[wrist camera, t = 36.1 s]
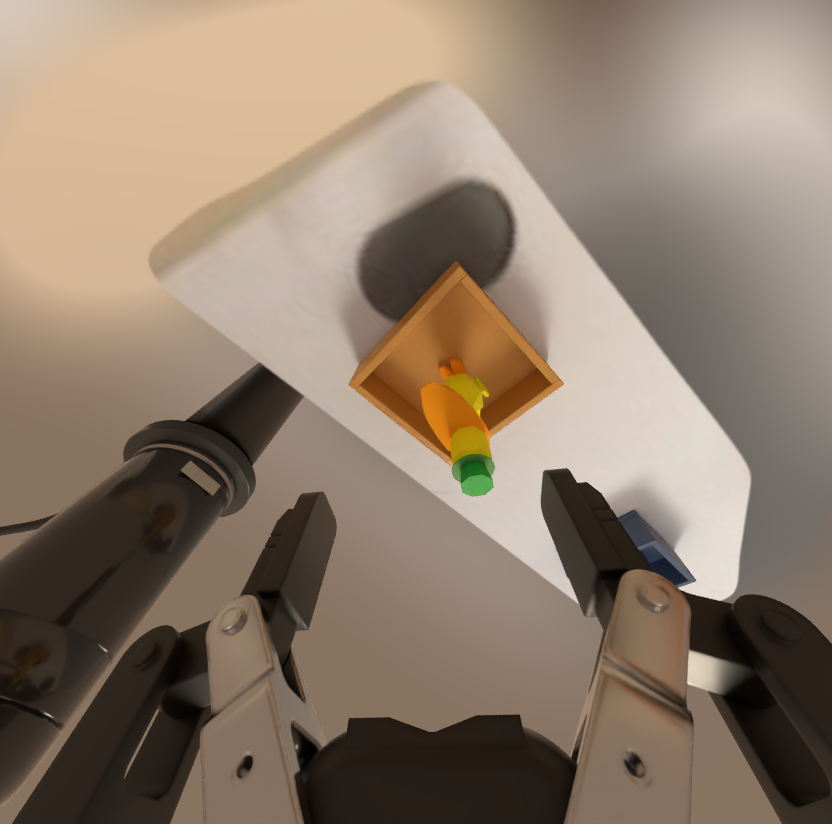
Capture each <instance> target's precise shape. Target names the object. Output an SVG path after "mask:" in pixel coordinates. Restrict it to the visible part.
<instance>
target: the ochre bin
mask: <svg viewBox="0 0 832 824" xmlns="http://www.w3.org/2000/svg"><path fill="white" fill-rule="evenodd" d="M454 357H456V358H458V359H459V360H460V361H461V362H462V363H463V365H464V368H465V370H466V373H467V375H469V376H471V377H472V378H474V379H476V378H475V375H477V376H478V378H479V379H480V380H481V381H482V382H483V384H484V385H485V387H486V388H487V390H488V393H489V396H488V397H485V396H484V395H483V394H482V400H483V407H482V408H481V409H480V418H481V419H482V421H483V422H484V423H485V425H486V426H487V428H488V430H489V438H490V437H491V436H493V435H494V434H495V433H497V432H498V431H500V430H501V429H502V428H504V427H505V426H507V425H508V424H509V423H511V422H512V421H514V420H515V419H516V418H518V417H519V416H520V415H522V414H523V413H525V412H526V411H527V410H529V409H530V408H532V407H533V406H534V405H536V404H537V403H539V402H540V401H541V400H543V399H544V398H545V397H547V396H548V395H550V394H551V393H552V392H554V391H555V390H557V389H558V388H559V387H561V386H562V385H563V384H564V383H563V382H562V381H561V380H560V379H559V377H558V376H557V375H556V374H555V373H554V371H553V370H552V369H551V368H550V367H549V365H548V364H547V363H546V362H545V361H544V360H543V359H542V357H541V356H540V355H539V354H538V353H537V352H536V351H535V349H534V348H533V347H532V346H531V345H530V344H529V343H528V341H527V340H526V339H525V338H524V337H523V336H522V335H521V334H520V332H519V331H518V330H517V329H516V328H515V327H514V326H513V324H512V323H511V322H510V321H509V320H508V319H507V318H506V316H505V315H504V314H503V313H502V312H501V311H500V310H499V309H498V307H497V306H496V305H495V304H494V303H493V302H492V301H491V299H490V298H489V297H488V296H487V295H486V294H485V293H484V291H483V290H482V289H481V288H480V287H479V286H478V285H477V284H476V282H475V281H474V280H473V279H472V278H471V277H470V276H469V274H468V273H467V272H466V271H465V270H464V269H463V268H462V266H461V265H460V264H459V263H458V262H457V261H454V262H453V263H452V265H451V266H450V267H449V268H448V269H447V270H446V271H445V272H444V273H443V274H442V275H441V276H440V278H439V279H438V280H437V281H436V282H435V283H434V284H433V285H432V286H431V287H430V288H429V289H428V291H427V292H426V293H425V294H424V295H423V296H422V297H421V298H420V299H419V300H418V301H417V302H416V304H415V305H414V306H413V307H412V308H411V309H410V310H409V311H408V312H407V313H406V314H405V315H404V317H403V318H402V319H401V320H400V321H399V322H398V323H397V324H396V325H395V326H394V327H393V328H392V330H391V331H390V332H389V333H388V334H387V335H386V336H385V337H384V338H383V339H382V340H381V341H380V343H379V344H378V345H377V346H376V347H375V348H374V349H373V350H372V351H371V352H370V353H369V354H368V356H367V357H366V358H365V359H364V360H363V361H362V362H361V363H360V364H359V365H358V367H357V369H356V371H355V373H354V375H353V377H352V379H351V381H350V383H349V386H351V387H352V388H353V389H355V390H356V391H357V392H358V393H360V394H361V395H362V396H363V397H365V398H366V399H367V400H368V401H370V402H371V403H372V404H373V405H375V406H376V407H377V408H378V409H380V410H381V411H382V412H383V413H385V414H386V415H387V416H388V417H390V418H391V419H392V420H393V421H395V422H396V423H397V424H399V425H400V426H401V427H402V428H404V429H405V430H406V431H407V432H409V433H410V434H411V435H412V436H414V437H415V438H416V439H417V440H419V441H420V442H421V443H422V444H424V445H425V446H426V447H427V448H429V449H430V450H431V451H432V452H434V453H435V454H436V455H438V456H439V457H440V458H441V459H443V460H444V461H445V462H446V463H448V464H449V465H450V466H451V465H452V459H451V452H450V451H448V450H447V449H446V448H445V446H444V445H443V444H442V443H441V441H440V440H439V439H438V437H437V436H436V434H435V433H434V431H433V429H432V428H431V426H430V424H429V423H428V421H427V419H426V416H425V413H424V410H423V407H422V398H421V388H422V387H423V386H424V385H425V384H426V383H427V382H436V383H440V384H443V383H444V382H445V380H444V379H443V378H442V377H441V375H440V372H439V369H438V367H439V366H441V365H442V364H445V365H447V366H448V367H450V368H451V363H450V360H451V359H452V358H454ZM451 370H452V368H451ZM453 373H454V372H453ZM454 375H456V374H455V373H454Z"/></svg>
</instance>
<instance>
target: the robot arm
mask: <svg viewBox="0 0 832 824" xmlns="http://www.w3.org/2000/svg"><path fill="white" fill-rule="evenodd" d="M235 494H236V486H235V482H234V479H233V477H232V475H231V474H230V472H229V471H228V470H227V468H226V467H225V466H224V465H223V464H222V463H221V462H220V461H218V460H217V459H216V458H215V457H213V456H212V455H210V454H209V453H207V452H205V451H203V450H202V449H199V448H197V447H195V446H192V445H189V444H186V443H182V442H178V441H170V440H163V441H155V442H152V443H149V444H147V445H145V446H144V447H143V448H141V449H140V450H139V451H137V452H136V453H135V454H134V455H133V456H132V458H129V459H128V460H127V461H125V462H124V463H123V464H121V465H120V466H119V467H117V468H116V469H115V470H114V471H112V472H111V473H110V474H108V475H107V476H106V477H105V478H103V479H102V480H101V481H99V482H98V483H97V484H95V485H94V486H93V487H91V488H90V489H89V490H88V491H86V492H85V493H84V494H82V495H81V496H80V497H79V498H78V499H76V500H75V501H73V502H72V503H71V504H70V505H68V506H67V507H66V508H64V509H63V510H62V511H60V512H59V513H57V514H55V515H52V516H50V517H47V518H43V519H40V520H36V521H31V522H27V523H22V524H15V525H10V526H4V527H0V535H6V534H13V533H19V532H25V531H30V530H35V529H37V530H36V531H34V532H33V533H32V534H31V535H29V536H28V537H27V538H25V539H24V540H23V541H22V542H21V543H20V544H19V545H18V546H16V547H15V548H14V549H12V550H11V551H10V552H9V553H7V554H6V555H5V556H3V557H2V558H1V559H0V807H1V806H3V805H4V804H5V803H7V802H8V800H10V799H11V798H12V797H13V796H14V795H15V794H16V793H17V792H18V791H19V790H20V789H21V787H22V786H23V785H24V784H25V783H26V781H27V780H28V779H29V777H30V776H31V775H32V774H33V772H34V771H35V769H36V768H37V767H38V766H39V764H40V763H41V761H42V760H43V759H44V757H45V756H46V754H47V753H48V752H49V750H50V749H51V747H52V746H53V745H54V743H55V742H56V741H57V739H58V738H59V737H60V735H61V732H63V731H64V729H65V728H66V727H67V725H68V724H69V722H70V721H71V720H72V718H73V717H74V715H75V714H76V713H77V711H78V710H79V709H80V707H81V706H82V704H83V703H84V702H85V700H86V699H87V698H88V696H89V695H90V694H91V692H92V691H93V689H94V688H95V687H96V685H97V684H98V683H99V681H100V680H101V678H102V677H103V676H104V674H105V673H106V671H107V670H108V669H109V667H110V666H111V664H112V663H113V661H114V660H115V659H116V658H117V656H118V655H119V653H120V652H121V651H122V649H123V648H124V647H125V645H126V644H127V642H128V641H129V640H130V638H131V637H132V636H133V634H134V633H135V632H136V630H137V629H138V627H139V626H140V625H141V623H142V622H143V621H144V619H145V618H146V616H147V615H148V614H149V612H150V611H151V610H152V608H153V607H154V605H155V604H156V603H157V601H158V600H159V599H160V597H161V596H162V595H163V593H164V591H166V589H167V588H168V586H169V585H170V584H171V582H172V581H173V580H174V578H175V576H176V575H177V574H178V573H179V571H180V570H181V569H182V567H183V566H184V565H185V563H186V562H187V560H188V559H189V558H190V556H191V555H192V554H193V552H194V551H195V549H196V548H197V547H198V545H199V544H200V543H201V541H202V540H203V539H204V537H205V536H206V534H207V533H208V532H209V530H210V529H211V528H212V526H213V525H214V523H215V522H216V521H217V519H218V518H219V517H220V515H221V514H222V513H223V511H224V510H226V509H227V507H228V506H229V505H230V503H231V502H232V500H233V499H234V497H235ZM541 509H542V513H543V517H544V519H545V522H546V524H547V527H548V529H549V532H550V534H551V536H552V539H553V541H554V544H555V546H556V548H557V551H558V553H559V556H560V558H561V561H562V563H563V565H564V568H565V570H566V573H567V575H568V578H569V580H570V582H571V585H572V587H573V590H574V592H575V594H576V597H577V599H578V602H579V604H580V607H581V609H582V611H583V614H584V616H585V617H598V619H599V621H600V624H601V626H602V628H603V632H602V636H601V640H600V644H599V648H598V652H597V656H596V660H595V665H594V668H593V672H592V677H591V680H590V684H589V688H588V692H587V696H586V700H585V704H584V707H583V711H582V714H581V718H580V721H579V725H578V729H577V733H576V737H575V740H574V745H573V748H572V752H571V757H569V756H568V755H567V754H566V753H565V752H564V751H563V750H562V749H560V748H559V747H558V746H557V745H556V744H554V743H553V742H552V741H550V740H549V739H547V738H546V737H544V736H543V735H541V734H539V733H537V732H535V731H533V730H531V729H528V728H525V727H522V723H521V718H520V715H481V716H480V715H478V716H474V717H471V718H469V719H466V720H464V721H462V722H459V723H457V724H454V725H451V726H449V727H446V728H444V729H441V730H439V731H436V732H428V731H425V730H422V729H419V728H417V727H414V726H411V725H409V724H406V723H403V722H400V721H398V720H395V719H392V718H389V717H386V718H385V717H384V718H349V721H348V728H347V732H345V733H343V734H341V735H339V736H338V737H336V738H334V739H333V740H331V741H330V742H329V743H328V741H327V738H326V735H325V732H324V730H323V727H322V725H321V723H320V721H319V719H318V717H317V715H316V713H315V711H314V709H313V706H312V704H311V701H310V698H309V694H308V691H307V688H306V684H305V681H304V678H303V675H302V672H301V668H300V665H299V662H298V659H297V655H296V652H295V649H294V646H293V644H292V641H293V638H294V635H295V631H298V630H299V631H300V630H309V626H310V623H311V619H312V616H313V613H314V609H315V606H316V602H317V599H318V595H319V592H320V588H321V585H322V581H323V578H324V574H325V571H326V567H327V563H328V560H329V557H330V553H331V549H332V546H333V543H334V539H335V536H336V519H335V516H334V514H333V512H332V509H331V507H330V505H329V503H328V500H327V498H326V496H325V494H324V493H323V492H313V493H303V494H301V495H300V497H299V499H298V500H297V503H296V505H295V507H294V509H288V510H287V511H286V512H285V514H284V515H283V516H282V517H281V518H280V519H279V520H278V521H277V523H276V525H275V527H274V529H273V531H272V533H271V537H269V539H268V541H267V543H266V545H265V549H263V551H262V553H261V555H260V557H259V559H258V561H257V563H256V565H255V567H254V569H253V571H252V573H251V575H250V577H249V579H248V581H247V583H246V585H245V587H244V589H243V591H242V593H241V595H240V596H239V597H237V598H234V599H232V600H231V601H229V602H228V603H227V604H225V605H224V606H223V607H222V608H221V609H220V610H219V611H218V612H217V613H216V614H215V616H214V617H213V619H212V620H211V621H208V622H206V623H203V624H201V625H198V626H196V627H193V628H191V629H188V630H186V631H183V632H181V633H179V632H178V631H176V630H175V629H174V628H173V627H171V626H168V625H165V626H159V627H157V628H154V629H152V630H150V631H149V632H147V633H145V634H144V635H143V636H141V637H140V638H139V639H138V640H137V641H135V642H134V643H133V644H132V645H131V646H130V647H129V649H128V650H127V651H126V652H125V653H124V655H123V656H122V658H121V659H120V661H119V662H118V664H117V665H116V667H115V668H114V670H113V671H112V673H111V674H110V676H109V677H108V679H107V680H106V682H105V683H104V685H103V686H102V688H101V690H100V691H99V692H98V694H97V696H96V697H95V699H94V700H93V702H92V703H91V705H90V706H89V708H88V709H87V711H86V712H85V714H84V715H83V717H82V718H81V720H80V721H79V723H78V724H77V726H76V728H75V729H74V730H73V732H72V734H71V735H70V737H69V738H68V740H67V741H66V743H65V744H64V746H63V747H62V749H61V750H60V752H59V753H58V755H57V756H56V758H55V759H54V761H53V762H52V764H51V766H50V767H49V768H48V770H47V771H46V773H45V774H44V776H43V777H42V779H41V781H40V782H39V784H38V785H37V787H36V788H35V790H34V791H33V793H32V794H31V796H30V797H29V799H28V800H27V802H26V803H25V805H24V806H23V808H22V809H21V811H20V812H19V814H18V816H17V817H16V818H15V820H14V822H13V823H12V824H170V822H171V820H172V817H173V814H174V812H175V809H176V807H177V804H178V802H179V799H180V797H181V794H182V792H183V789H184V787H185V784H186V781H187V779H188V776H189V774H190V771H191V769H192V766H193V764H194V761H195V758H196V756H197V753H198V751H199V748H200V757H201V776H202V777H201V778H202V797H203V798H202V799H203V819H204V824H690V816H691V815H690V814H691V791H692V766H693V741H694V725H693V717H692V713H691V711H690V710H688V708H687V703H686V693H687V684H689V685H692V686H695V687H698V688H701V689H704V690H707V691H708V692H709V694H710V696H711V698H712V699H713V701H714V703H715V705H716V707H717V708H718V710H719V712H720V714H721V715H722V717H723V719H724V720H725V723H726V725H727V726H728V728H729V730H730V732H731V733H732V735H733V737H734V739H735V741H736V742H737V744H738V746H739V748H740V749H741V751H742V753H743V755H744V757H745V758H746V760H747V762H748V764H749V765H750V767H751V769H752V771H753V773H754V774H755V776H756V778H757V780H758V782H759V783H760V785H761V787H762V789H763V790H764V792H765V794H766V796H767V797H768V799H769V801H770V803H771V804H772V807H773V808H774V810H775V812H776V814H777V815H778V817H779V819H780V821H781V823H782V824H832V644H831V643H830V642H829V640H828V639H827V638H826V637H825V636H824V635H823V634H822V633H821V632H820V631H819V630H818V628H816V627H815V626H814V625H813V624H812V623H811V622H810V621H809V620H808V619H807V618H806V617H804V616H803V615H802V614H800V613H799V612H797V611H796V610H794V609H793V608H791V607H789V606H788V605H785V604H784V603H782V602H779V601H777V600H775V599H772V598H769V597H765V596H761V595H753V594H751V595H744V596H741V597H740V598H738V599H737V600H736V602H735V603H734V604H731V603H726V602H722V601H718V600H713V599H709V598H705V597H701V596H696V595H693V594H689V593H686V592H684V591H681V590H679V589H678V588H677V587H676V586H675V585H674V584H673V583H672V582H670V581H669V580H668V579H666V578H664V577H663V576H661V575H659V574H657V573H655V572H654V571H653V570H652V569H651V567H650V566H649V565H648V563H647V562H646V560H645V559H644V557H643V556H642V554H641V553H640V551H639V550H638V548H637V547H636V545H635V544H634V542H633V541H632V539H631V538H630V536H629V535H628V533H627V532H626V530H625V529H624V527H623V526H622V524H621V523H620V521H618V518H617V517H616V515H615V514H614V512H613V510H611V509H610V506H609V504H608V503H607V501H606V500H605V498H604V497H603V495H602V494H601V493H600V492H599V491H597V490H596V489H595V488H594V487H592V486H591V485H590V484H588V483H587V482H584V483H577V482H576V480H575V479H574V477H573V475H572V474H571V472H570V471H569V469H567V468H565V469H555V470H545V471H544V472H543V479H542V491H541ZM157 709H158V710H159V712H158V714H157V716H156V718H155V720H154V722H153V724H152V726H151V728H150V730H149V732H148V734H147V736H146V738H145V740H144V742H143V744H142V746H141V748H140V750H139V752H138V753H137V755H136V757H135V760H134V761H133V763H132V765H131V767H130V769H129V771H128V773H127V775H126V777H125V772H126V769H127V766H128V765H129V762H130V760H131V758H132V756H133V755H134V753H135V751H136V749H137V747H138V745H139V743H140V741H141V739H142V737H143V735H144V733H145V731H146V729H147V727H148V725H149V723H150V721H151V719H152V717H153V716H154V714H155V712H156V710H157ZM124 777H125V779H124Z"/></svg>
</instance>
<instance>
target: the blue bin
mask: <svg viewBox="0 0 832 824" xmlns="http://www.w3.org/2000/svg"><path fill="white" fill-rule="evenodd" d="M618 521H620V523H621V524H622V526H623V527H624V529H625V530H626V532H627V533H628V535H629V536H630V538H631V539H632V541H633V542H634V544H635V545H636V547H637V548H638V550H640V551H641V552H642V553H643V554H644V555H645V556H646V558H647V559H648V561H649V562H650V564H651V565H652V567H653V568H654V570H655V572H656V573H657V574H659V575H661V576H663V577H664V578H666V579H668V580H669V581H670V582H672V583H673V584H674V585H675V586H676V587H677V588H678V587H681V586H684V585H687V584H690V583H692V582H695V581H696V579H695V578H694V577H693V575H692V574H691V573H690V571H689V570H688V569H687V567H686V566H685V565H684V563H683V562H682V561H681V559H680V558H679V557H678V555H677V554H676V553H675V551H674V550H673V549H672V548H671V547H670V546H669V545H668V544H667V543H666V542H665V541H664V540H663V539H662V538H661V537H660V536H659V535H658V534H657V533H656V532H655V531H654V530H653V529H652V528H651V527H650V526H649V524H648V523H647V522H646V521H645V520H644V519H643V518H642V517H641V516H640V515H639V514H638V513H637V512H636V511H632V512H630V513H628V514H626V515H624V516H622V517H620V518H618ZM556 549H557V548H556ZM557 552H558V551H557ZM558 554H559V553H558ZM559 557H560V556H559ZM560 560H561V558H560ZM561 562H562V561H561ZM562 565H563V563H562ZM563 567H564V565H563ZM564 570H565V568H564ZM565 572H566V570H565ZM566 575H567V573H566ZM567 577H568V575H567Z"/></svg>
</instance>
